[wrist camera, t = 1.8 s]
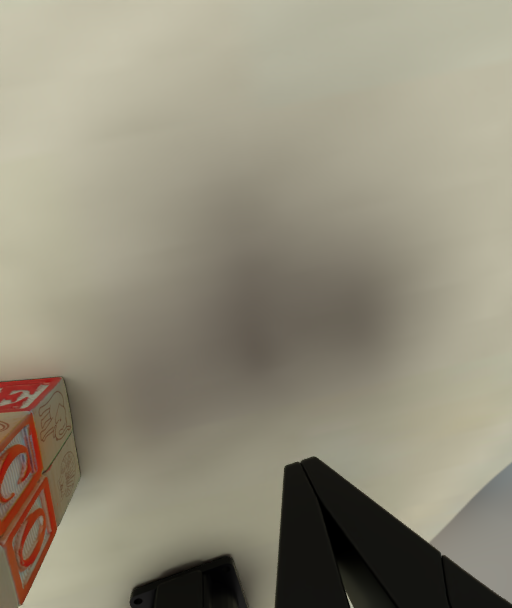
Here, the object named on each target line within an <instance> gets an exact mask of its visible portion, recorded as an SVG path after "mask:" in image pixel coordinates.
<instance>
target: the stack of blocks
mask: <svg viewBox="0 0 512 608" xmlns="http://www.w3.org/2000/svg"><path fill="white" fill-rule="evenodd" d="M72 428H73V425H72V419H71V413H70V407H69V402H68V397H67V392H66V388H65V384H64V380H63V378H62V377H54V378H44V379H33V380H21V381H10V382H0V608H18V606H21V605H22V604H23V602H24V600H25V598H26V596H27V594H28V592H29V590H30V588H31V586H32V584H33V582H34V579H35V577H36V575H37V573H38V571H39V569H40V567H41V564H42V562H43V560H44V558H45V556H46V554H47V551H48V549H49V547H50V545H51V543H52V541H53V538H54V536H55V534H56V531H57V527H58V526H59V525H60V522H61V520H62V518H63V515H64V513H65V511H66V509H67V506H68V504H69V502H70V500H71V498H72V496H73V493H74V491H75V489H76V487H77V485H78V482H79V480H80V477H81V476H80V471H79V464H78V458H77V452H76V447H75V441H74V435H73V431H72Z"/></svg>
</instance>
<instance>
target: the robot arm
mask: <svg viewBox="0 0 512 608" xmlns="http://www.w3.org/2000/svg"><path fill="white" fill-rule="evenodd" d="M345 590H346V591H345ZM346 592H347V594H348V597H349V599H350V601H351V603H352V605H353V607H354V608H512V604H511V603H509V602H508V601H506V600H505V599H503V598H502V597H501V596H499V595H497V594H496V593H495V592H493V591H492V590H490V589H489V588H488V587H486V586H485V585H484V584H482V583H481V582H480V581H478V580H477V579H475V578H474V577H473V576H472V575H470V574H469V573H467V572H466V571H465V570H463V569H462V568H461V567H459V566H458V565H457V564H456V563H454V562H453V561H452V560H450V559H449V558H448V557H446V556H445V555H442V556H441V553H440V552H439V551H438V550H437V549H436V548H435V547H433V546H432V545H431V544H429V543H428V542H427V541H425V540H424V539H423V538H421V537H420V536H419V535H418V534H416V533H415V532H414V531H412V530H411V529H410V528H408V527H407V526H406V525H404V524H403V523H402V522H401V521H399V520H398V519H397V518H395V517H394V516H393V515H391V514H390V513H389V512H387V511H386V510H385V509H384V508H382V507H381V506H380V505H378V504H377V503H376V502H374V501H373V500H372V499H370V498H369V497H368V496H367V495H365V494H364V493H363V492H361V491H360V490H359V489H357V488H356V487H355V486H354V485H352V484H351V483H350V482H348V481H347V480H346V479H344V478H343V477H342V476H340V475H339V474H338V473H337V472H335V471H334V470H333V469H331V468H330V467H329V466H327V465H326V464H325V463H323V462H322V461H321V460H320V459H318V458H317V457H314V456H313V457H310V458H307V459H304V460H302V461H301V463H299V462H295V463H292V464H289V465H286V466H285V468H284V478H283V493H282V508H281V522H280V537H279V552H278V566H277V581H276V596H275V608H350V605H349V602H348V598H347V595H346ZM130 606H131V608H249V607H248V604H247V601H246V598H245V595H244V592H243V589H242V586H241V583H240V580H239V577H238V573H237V570H236V567H235V564H234V561H233V559H232V558H230V557H224V558H221V559H218V560H215V561H212V562H210V563H207V564H204V565H201V566H198V567H196V568H193V569H190V570H187V571H184V572H182V573H179V574H176V575H173V576H170V577H168V578H165V579H162V580H159V581H156V582H154V583H151V584H148V585H145V586H142V587H140V588H137V589H135V590H133V592H132V593H131V597H130Z"/></svg>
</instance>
